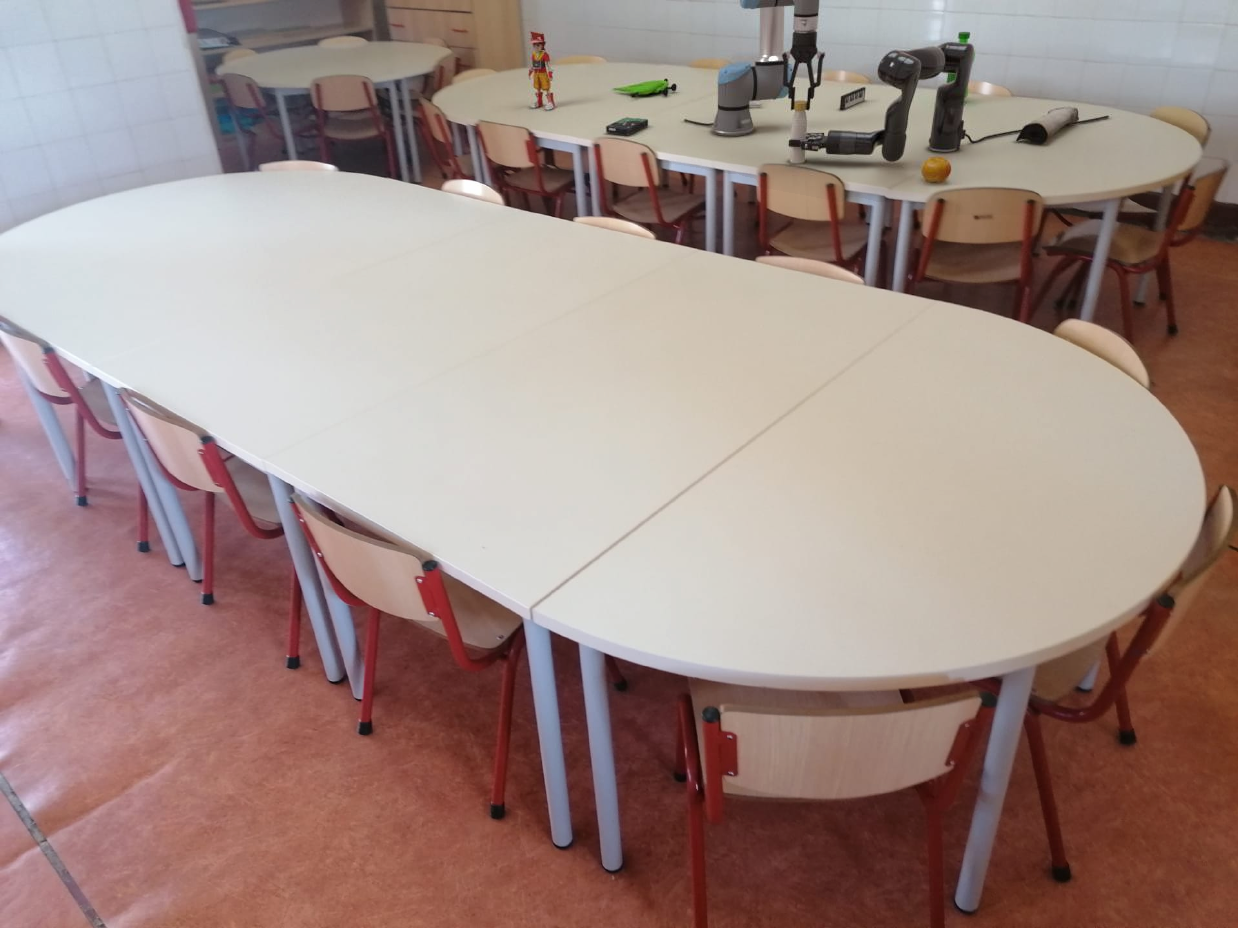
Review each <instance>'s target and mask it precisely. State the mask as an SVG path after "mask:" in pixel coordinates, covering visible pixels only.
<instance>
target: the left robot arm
mask: <svg viewBox="0 0 1238 928" xmlns="http://www.w3.org/2000/svg"><path fill="white" fill-rule="evenodd" d="M739 4H740V7H741V8H742V9H743V10H744V9H745V10H749V9H750V10H756V9H759V55H758V57H757V58H755V61H754V66H752V65H751V63H750V62H747V61H742V62H741V61H739V62H737V61H736V62H732V63H729V64H728V63H727V64H726V65H724V66H722V67H720V69H719V70H718V75H717V111H716V114H715V118H714V120H713V122H711V123H710V122H709V123H705V122H699V121H695V120H690V119H686V118H684V119H683V121H684V122H687V123H691V124H695V125H701V126H706V127H707V126H710V127H711V126H712V133H713V134H715V135H717V136H721V137H741V136H746V135H750V134H752V133H754V127H755V126H754V122H753V118H752V115H751V111H750V108H749V102H750V101H756V102H757V101H768V100H773V101H775V100H778V99H780V100H781V99H784V98H786V97H787V96H788V97H787V98H788V99H789V100H791V101H790V111H793V110H794V109H793V107H794V101H796V86H794V84H795V80H796V76H797V74H798V73H797V72H798V69H799V66H800V64H806V67H807V74H808V80H809V81H808V82H809V87H808V88H807V98H806V101H807V110H806V111H810V109H811V100H813V99H814V98H815V91H816V90H815V88H819V87H820V86H821V84H822V77H823V76H822V75H823V64H824V59H825V56H826V52H825V51H820V50H819V49H818V47H817V43H818V42H817V41H818V32H817V30H818V27H819V11H820V0H739ZM785 7H794V8H793V22H792V23H793V24H792V30H793V32H792V39H791V40H792V41H791V42H792V43H791V48H790V50H788V51H784V48H785V47H784V46H785V44H784V42H785ZM791 57H792V58H793V60H794V65H793V66H792V64H791V63H789V59H790V58H791ZM815 57H816V58H817V60H818V62H817V70H816V71H817V72H816V81H815V76H814V68H813V59H814V58H815Z"/></svg>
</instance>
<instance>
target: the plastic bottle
mask: <svg viewBox="0 0 1238 928" xmlns="http://www.w3.org/2000/svg"><path fill="white" fill-rule="evenodd" d="M970 36H971V32H970V31H959V32H958V36H957V39H958V42H959V43H968V41H969V39H970V38H971V37H970ZM975 57H976V51H975V49H974V59H973V62H974V61H975ZM946 77H947V78H946V83H950V82H952V81H954V80H955V78H956V74H950V73H947V76H946ZM968 95H969V86H968V87H967V91H966V97H965V99H966V98H967V96H968Z"/></svg>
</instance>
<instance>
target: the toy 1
mask: <svg viewBox="0 0 1238 928" xmlns="http://www.w3.org/2000/svg"><path fill="white" fill-rule="evenodd" d="M529 33H530V35H531V36H528V37H527V38H528V39H529V40H528V41H527V43H529V44H530V43H531V44H532V48H533V50H534V51H533V52H532V55H531V58H530V59H531V63H530V66H528V74H527V75H528V76H527V77H528V79H529V80H531V75H532V74H533V84H532V85H533V86H532V87H533V88H534V89H535V90H536V92H534V95H535V97H536V100H535V101H533V102H531V105H530V108H531V109H535V108H538V107H542V106H544V101H543V100H544V99H543V95H544V92H546V94H545V97H546V99H547V103H546V104H545V106H544V110H546V111H549V110H553V109H554V107H555V106H556V105H555V99H554V92H551V91H550V90H551V86H552V84H551V82H552V81H553V80H554V77H553V73H554V71H555V70H554V69H552V68H551V63H550V61H551V59H550V58H551V57H550V54H549V53H548V52H547V50H546V48H545V46H546V44H547V41H545V35H544V33H543V32H542V33H539V32H535V31H529Z"/></svg>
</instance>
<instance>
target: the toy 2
mask: <svg viewBox="0 0 1238 928" xmlns="http://www.w3.org/2000/svg"><path fill="white" fill-rule="evenodd" d="M669 85H670V83H669V79H668V78H664V79H663V80H649V81H644V82H640V83H634V84H629V85H627V86H621V87H613V88H612V89H613V90H616V91H619V92H623V93H627V94H628V93H629V94H631V95H630V96H631V98H632V99H634V98H636V96H637V95H650V94H652V93H654V94H658V93H662V95H663V96H665V97H667V96H668V95H669V90H671V91H672V92H676V91H677V84H676V83H672V84H671V86H669Z"/></svg>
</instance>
